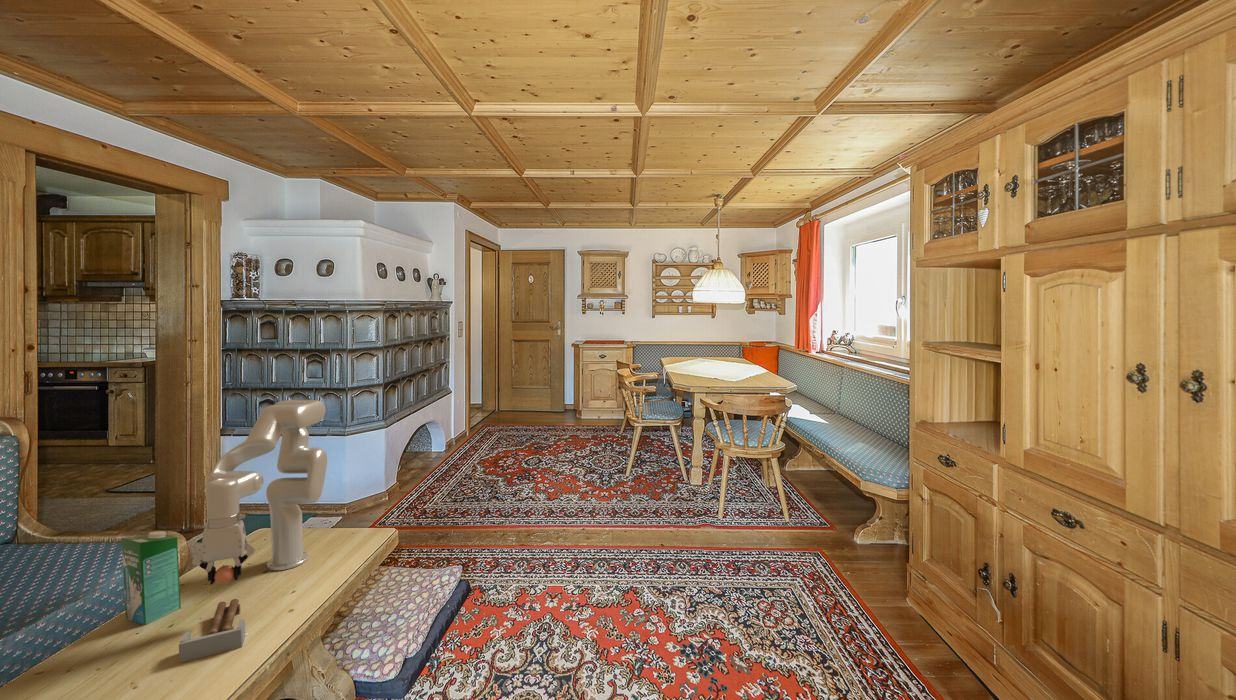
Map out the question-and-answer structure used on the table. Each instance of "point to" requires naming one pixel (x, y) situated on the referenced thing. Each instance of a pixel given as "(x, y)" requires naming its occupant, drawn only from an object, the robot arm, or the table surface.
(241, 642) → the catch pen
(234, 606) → the brown piece
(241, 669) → the table surface
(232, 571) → the ball
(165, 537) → the milk carton
